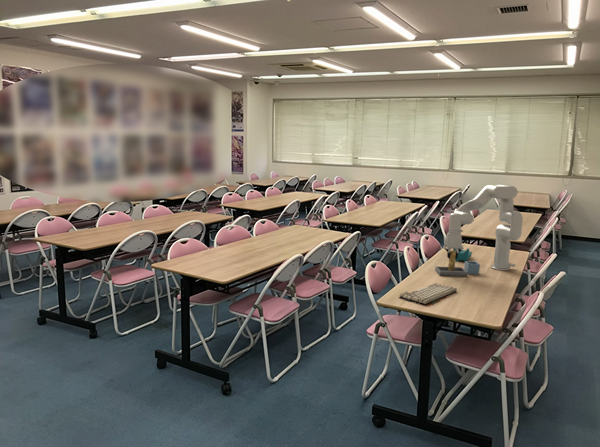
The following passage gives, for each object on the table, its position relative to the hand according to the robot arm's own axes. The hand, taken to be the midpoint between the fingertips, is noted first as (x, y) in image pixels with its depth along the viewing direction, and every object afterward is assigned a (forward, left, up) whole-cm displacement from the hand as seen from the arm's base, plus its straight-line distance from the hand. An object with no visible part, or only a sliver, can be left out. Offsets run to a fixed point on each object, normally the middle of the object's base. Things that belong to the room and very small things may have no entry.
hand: (452, 258), depth 314 cm
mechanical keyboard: (+26, +47, -12) cm, 55 cm away
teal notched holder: (-20, -43, -11) cm, 49 cm away
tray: (0, 0, -11) cm, 11 cm away
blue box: (-15, -4, -11) cm, 19 cm away
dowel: (0, 0, -8) cm, 8 cm away
